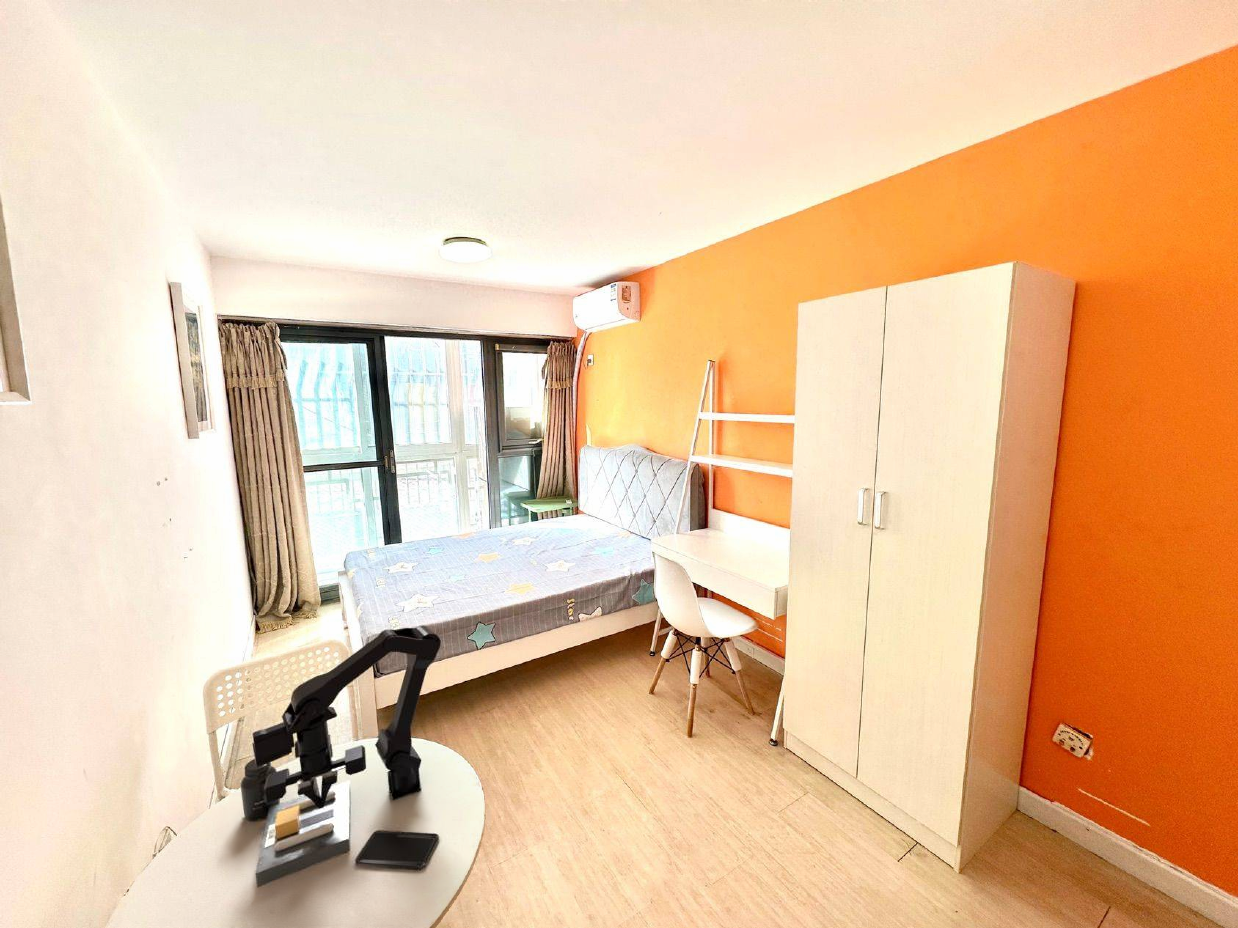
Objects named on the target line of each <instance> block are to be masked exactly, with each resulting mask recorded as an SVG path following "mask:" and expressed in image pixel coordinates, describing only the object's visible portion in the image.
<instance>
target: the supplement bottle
mask: <svg viewBox="0 0 1238 928" xmlns="http://www.w3.org/2000/svg"><path fill="white" fill-rule="evenodd" d="M274 772H277V769H276V768H275V767H274V766H272V762H270V763H268V764H265V765H263V766H260V767H258V768H256V763H255V758H252V760H250V761H249V762H247V763H246V765H244V777H243V778H242V779H241V782H240V790H241V791H240V794H241V801H242V809H243V815H244V816H243V817H244V819H245V820H247V821H249V822H258V821H261V820H263V819H267V816H268V811H269V807H272V806H275V805H278V804H281V803H280V801H281V799H278V800H275V801H272V802H269V803H266V802H264V796H263V791H264V786H265V782H266V778H267V777H268V775H269V774H271V773H274Z"/></svg>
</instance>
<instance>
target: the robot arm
mask: <svg viewBox="0 0 1238 928" xmlns="http://www.w3.org/2000/svg"><path fill="white" fill-rule="evenodd" d="M441 642H442V640H441V639H440V636H438V634H437V633H435V631H433V630H432V629H431V628H430V627H428V626H427V625H418V626H416V627H402V628H396V629H390V628H389V629H383V630H382V631H381V632H380V633H379V634H378V636H376V637H374V638H373V639H372V640H371V641H369V642H367V644H364V645H363V646H362V647H361V648H359V650H357V651H356V652H354V653H353V654H352V655H350V656H349V657H348V658H346V659H345V660H343V661H342V662H341V663H339V664H338V665H337V666H336V667H334V668H332V669H331V670H329V671H328V672H324V673H323V674H319V675H316V676H313V677H312V678H311V679H308V680H306V681H304V682H303V683H301V684H300V685H298V686H296V688H294V689H293V691H292V693H291V695H290V696H291V697H290V703H288V706H287V707H286V709H285V711H284V712H283V714H282V715H281V719H282V722H280V723H278V724H275V725H272V726H269V727H266V728H263V729H259V730H256V731H253V733H252V742H253V743H252V749H253V757H254V758H253V759H255V763H256V768H258V767H260V766H263V765H265V764H268V763H273V762H274V761H277V760H280V759H281V758H284V757H287V756H289V755H290V754H292V753H293V748H294V756H295V759H298V758H299V763H300V764H299V765H300V771H296V772H294V773H290V768H288V767H287V768H285V769H281V770H278V771H277V770H276V771H277V772H274V773H271V774H269V775H268V777H267V778H266V782H265V786H264V791H263V796H264V802H266V803H269V802H272V801H275V800H278V799H280V800H281V799H283V797H285V795H286V794H287V787H289V786H292V785H295V784H296V786H297V796H301V795H302V796H306V797H308V798H309V799H311V800H312V801H313V802H314V803H315V805H316V806H317V807H318V808H319V809H321V808H323V807H324V805H325V801H326V798H327V794H328V792H329V790H330V788H331V787H332V785H335V784H337V782H338V773H339V771H340V770H343V769H345V774H347V775H349V776H352V775H355V774H358V773H361V772H364V771H365V770H366V769H367V758H366V756H367V755H366V747H365V745H361V744H360V745H358V746H355V747H350V748H348V749H345V750H344V757H342V758H339V759H337V757H335V758H333V757H334V756H333V755H334V754H333V753H334V752H333V745H332V742H331V741H332V740H331V734H330V733H329V728H328V726H329V725H328V721H331V720H332V719H335V718H337V717H338V713H337V712H336V711H337V710H336V709H335V707H332V706H331V705H332V704H333V703H334V702H335V700H336V698H337V697H338V696H339V694H340V693H341V692H342V690H343V689H345V688H346V687H348V686H349V684H351V683H352V682H354V681H355V680H356V679H358V678H359V677H360V676H361V675H363V674H364V673H365V672H367V671H368V670H369V669H371V668H372V667H373V666H374V665H377V663H378V662H380V661H381V660H383V659H384V658H385V657H386V656H387V655H389V654H390V653H401V654H406V660H407V661H406V662H407V664H406V668H405V673H404V675H403V679H402V683H401V686H400V690H399V694H398V698H397V701H396V705H395V708H394V712H393V715H392V719H391V722H390V724H389V725H388V726H387V727H386V728H385V729H384V728H380V729H379V731H378V737H377V741H376V742H375V744H374V746H375V747H376V752H377V755H378V756H379V758H380V759H381V761H382V763H383V765H384V767H385V768H386V769H387V770H388V771H387V774H386V775H387V781H388V782H387V783H388V793H389V794H390V795H391V800H392V801H395V800H398V799H400V798H401V799H402V798H403V797H406V796H409V795H412V794H414V793H417V792H421V790H422V783H421V779H420V768H421V763H422V758H421V757H420V755H419V754H418V753H417V751H416V750H415V748H414V746H413V743H412V724H413V721H414V716H415V715H416V710H417V706H418V703H419V699H420V694H421V691H422V688H423V684H424V681H425V676H426V673H427V670H428V669H429V667H430V666H431V665H432V663H433V662H434V661H435V659H436V657H437V655H438V654H439V651H440V648H441V644H442V643H441ZM294 734H296V741H295V739H294ZM319 777H321V789H319V785H318V780H317V778H319ZM320 790H321V796H320V792H319V791H320Z"/></svg>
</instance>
